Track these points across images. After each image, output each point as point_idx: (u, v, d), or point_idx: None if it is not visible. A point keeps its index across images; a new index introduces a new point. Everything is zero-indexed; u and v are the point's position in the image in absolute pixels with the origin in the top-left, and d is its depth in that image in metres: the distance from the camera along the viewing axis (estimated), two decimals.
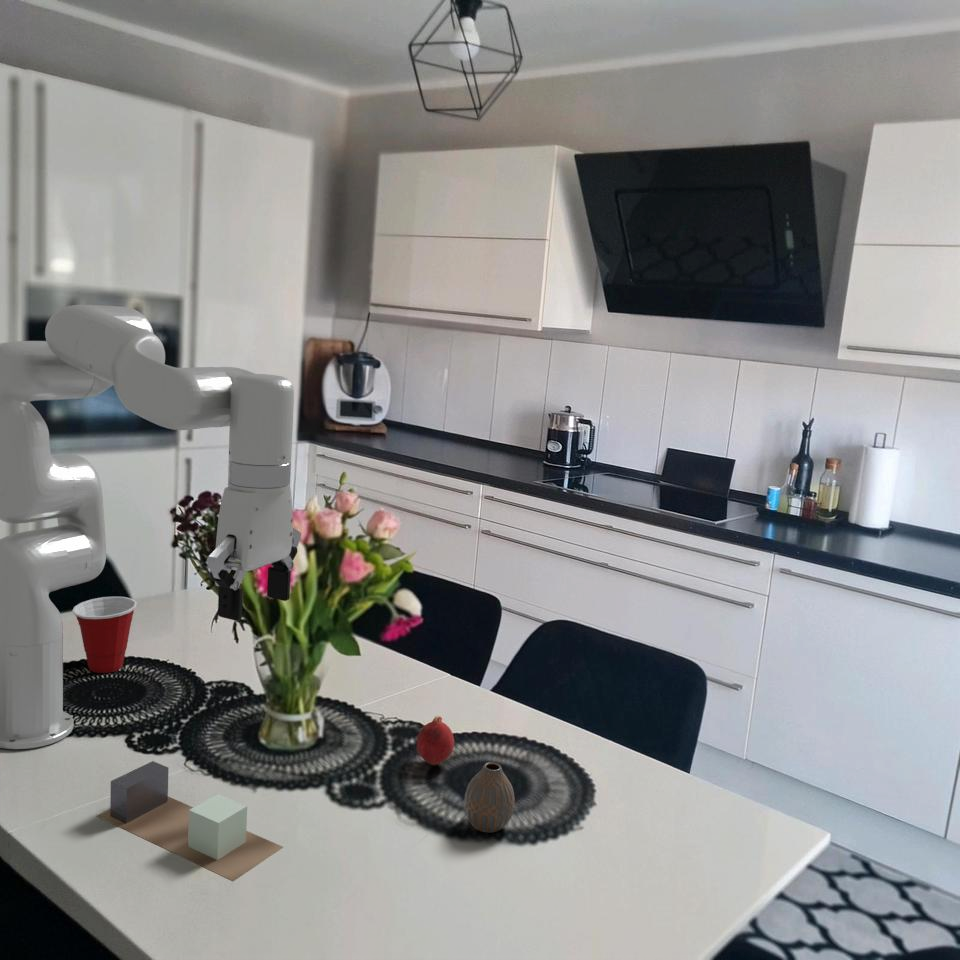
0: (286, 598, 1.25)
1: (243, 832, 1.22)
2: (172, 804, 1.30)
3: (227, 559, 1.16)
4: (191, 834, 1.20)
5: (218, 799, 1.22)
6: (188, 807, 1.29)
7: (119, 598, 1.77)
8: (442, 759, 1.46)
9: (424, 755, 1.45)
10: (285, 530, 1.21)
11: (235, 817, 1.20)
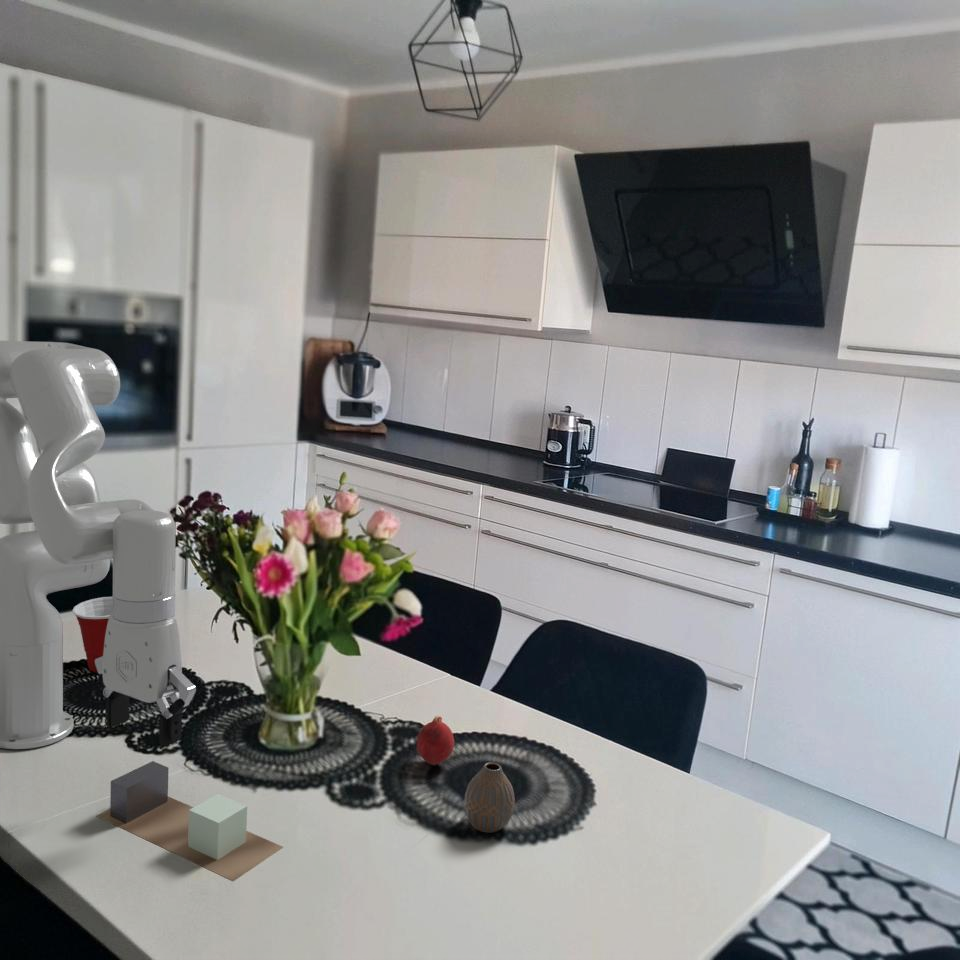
0: (128, 717, 1.29)
1: (243, 832, 1.22)
2: (172, 804, 1.30)
3: None
4: (191, 834, 1.20)
5: (218, 799, 1.22)
6: (188, 807, 1.29)
7: None
8: (442, 759, 1.46)
9: (424, 755, 1.45)
10: None
11: (235, 817, 1.20)
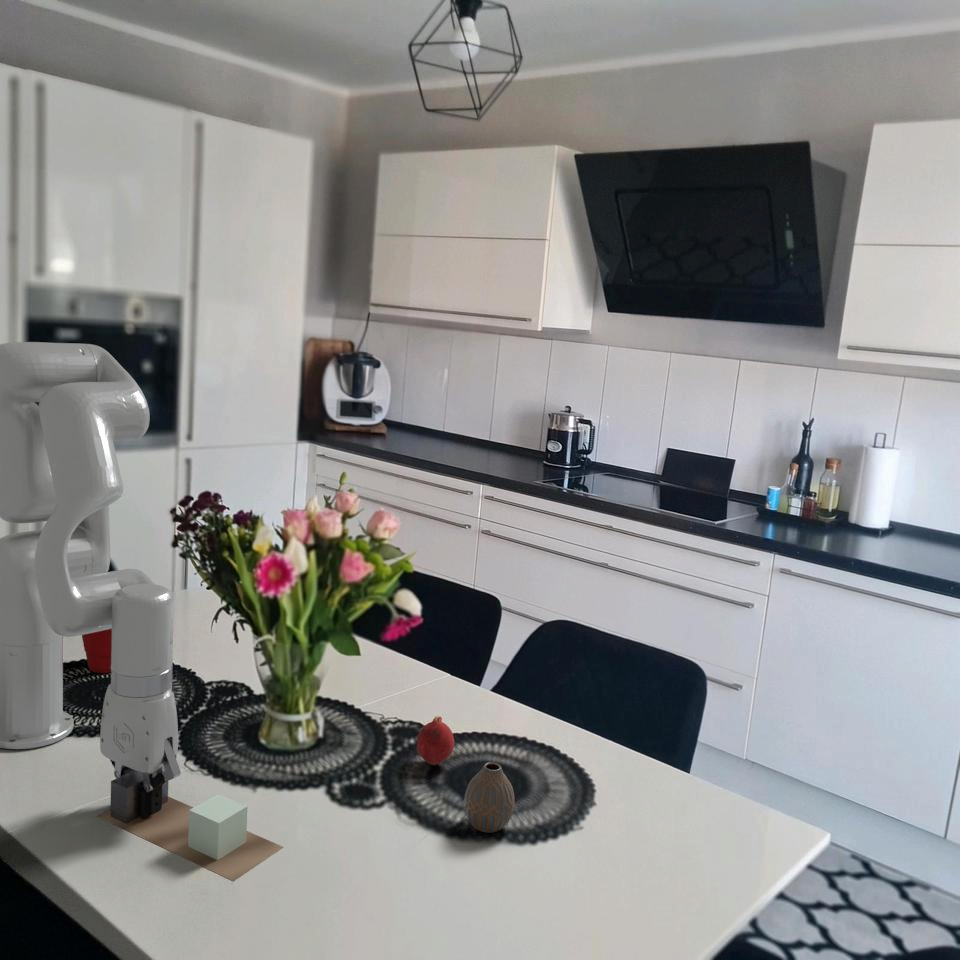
0: None
1: (243, 832, 1.21)
2: (172, 804, 1.30)
3: None
4: (191, 834, 1.20)
5: (218, 799, 1.22)
6: (188, 807, 1.29)
7: None
8: (442, 759, 1.46)
9: (424, 755, 1.45)
10: None
11: (235, 817, 1.20)
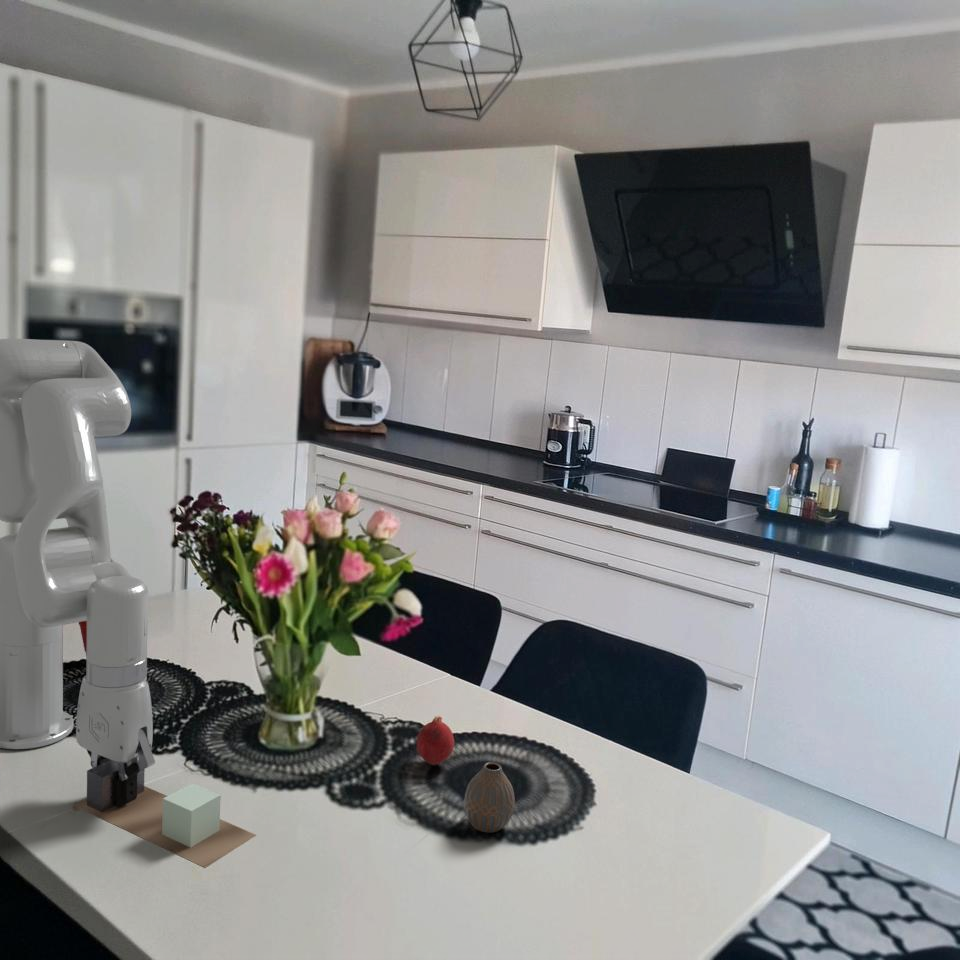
0: None
1: (216, 820, 1.24)
2: (148, 793, 1.32)
3: None
4: (165, 822, 1.22)
5: (192, 788, 1.24)
6: (164, 796, 1.31)
7: None
8: (442, 759, 1.46)
9: (424, 755, 1.45)
10: None
11: (208, 805, 1.22)
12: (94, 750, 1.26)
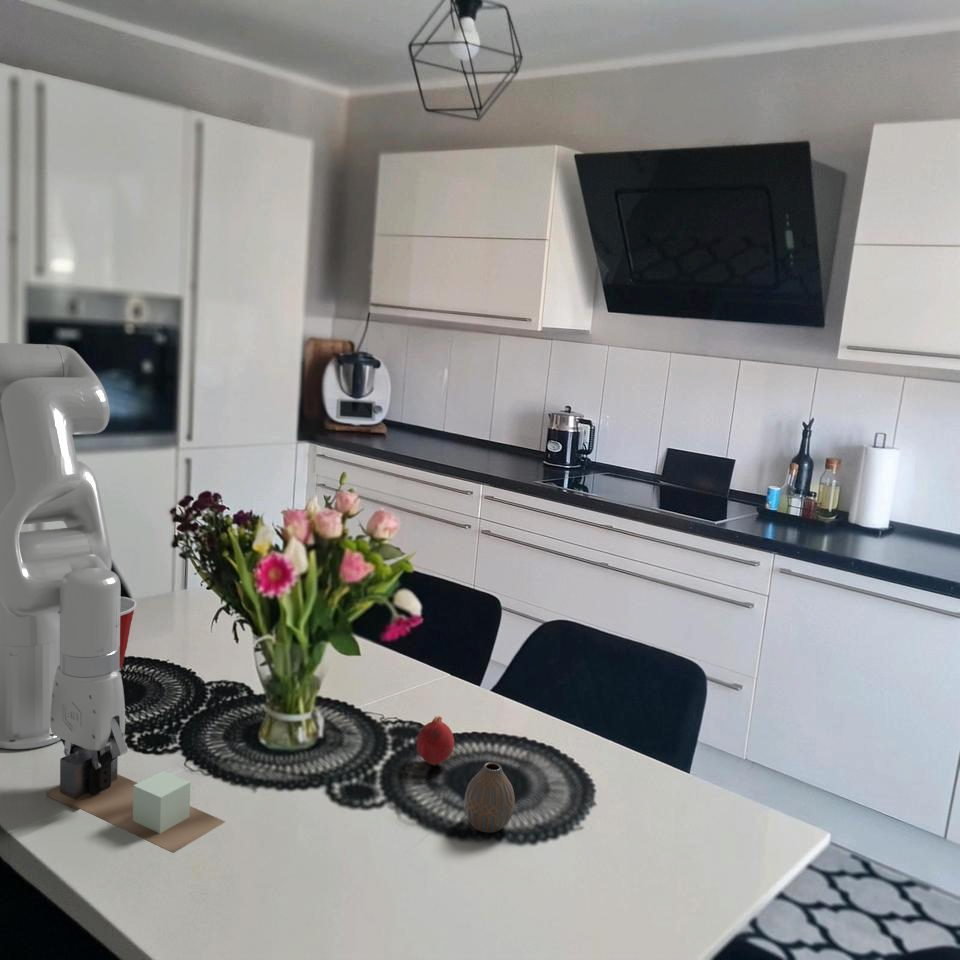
0: None
1: (186, 807, 1.26)
2: (121, 782, 1.34)
3: None
4: (135, 809, 1.24)
5: (163, 776, 1.27)
6: None
7: None
8: (442, 759, 1.46)
9: (424, 755, 1.45)
10: None
11: (177, 792, 1.24)
12: (67, 739, 1.29)
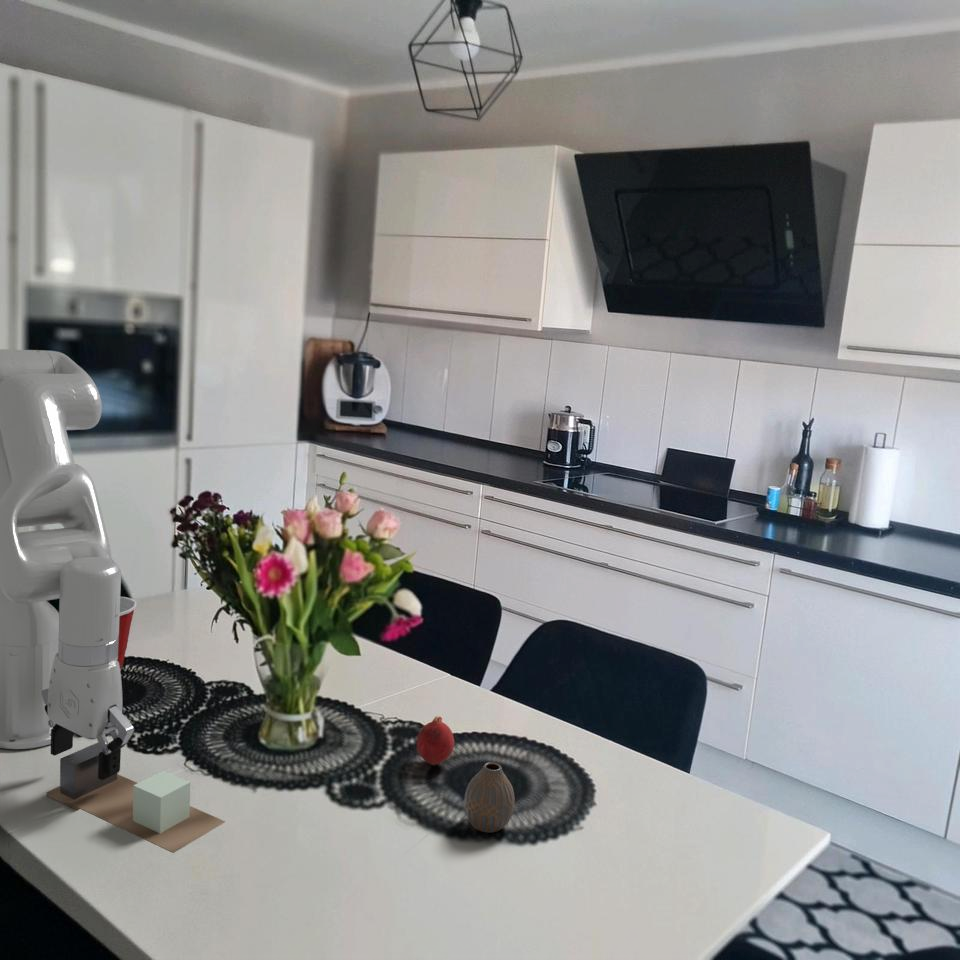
0: (72, 745, 1.36)
1: (186, 807, 1.26)
2: (121, 782, 1.34)
3: None
4: (135, 809, 1.24)
5: (163, 776, 1.27)
6: None
7: None
8: (442, 759, 1.46)
9: (424, 755, 1.45)
10: None
11: (177, 792, 1.24)
12: (64, 725, 1.29)
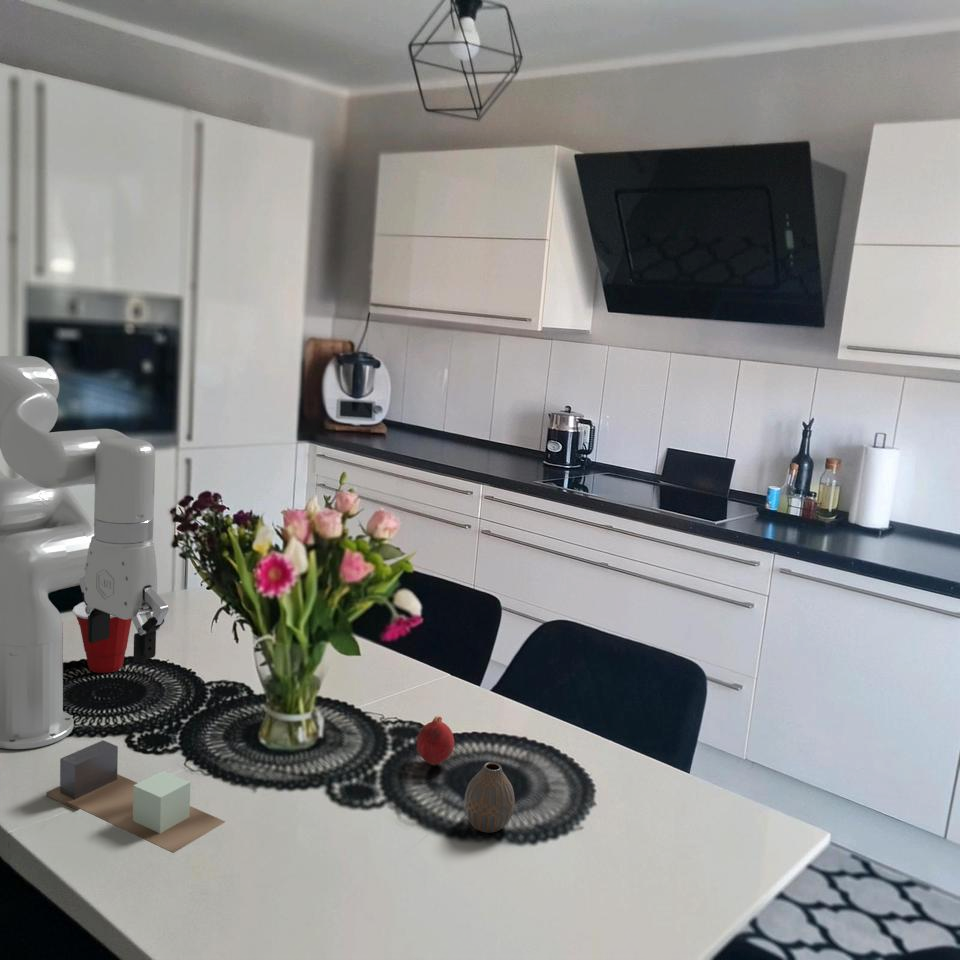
0: (109, 635, 1.36)
1: (186, 807, 1.26)
2: (121, 782, 1.34)
3: None
4: (135, 809, 1.24)
5: (163, 776, 1.27)
6: None
7: None
8: (442, 759, 1.46)
9: (424, 755, 1.45)
10: None
11: (177, 792, 1.24)
12: (100, 607, 1.29)
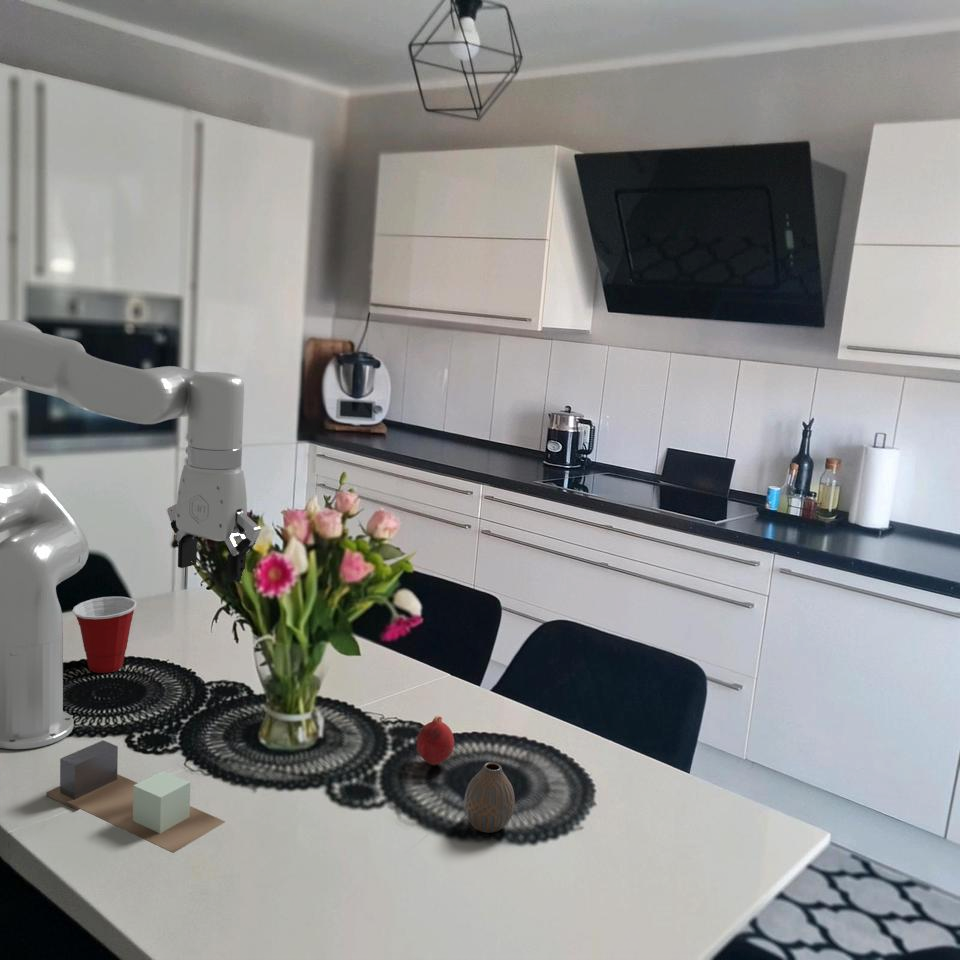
0: (195, 561, 1.45)
1: (186, 807, 1.26)
2: (121, 782, 1.34)
3: None
4: (135, 809, 1.24)
5: (163, 776, 1.27)
6: None
7: (119, 598, 1.77)
8: (442, 759, 1.46)
9: (424, 755, 1.45)
10: None
11: (177, 792, 1.24)
12: (194, 531, 1.38)
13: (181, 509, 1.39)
